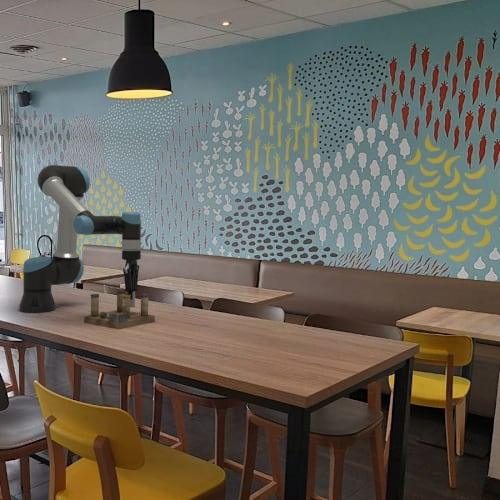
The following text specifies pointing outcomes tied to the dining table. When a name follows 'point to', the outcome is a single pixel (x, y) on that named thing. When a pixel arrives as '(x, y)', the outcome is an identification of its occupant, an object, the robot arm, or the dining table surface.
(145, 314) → the stool seat
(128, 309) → the swing leg
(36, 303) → the robot arm
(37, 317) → the dining table surface
